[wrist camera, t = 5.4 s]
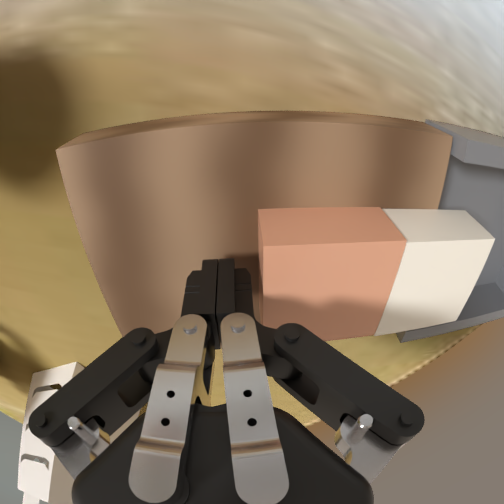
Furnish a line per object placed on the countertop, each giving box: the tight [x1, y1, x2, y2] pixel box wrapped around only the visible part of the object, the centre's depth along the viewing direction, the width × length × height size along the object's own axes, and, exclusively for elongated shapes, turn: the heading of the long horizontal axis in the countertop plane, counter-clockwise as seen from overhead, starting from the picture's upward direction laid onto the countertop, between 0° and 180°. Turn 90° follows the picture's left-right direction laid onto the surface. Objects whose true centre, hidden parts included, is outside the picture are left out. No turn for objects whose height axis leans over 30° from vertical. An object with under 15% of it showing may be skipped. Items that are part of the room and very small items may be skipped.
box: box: [396, 119, 504, 343], centre depth 17 cm, size 14×14×4 cm
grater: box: [18, 362, 140, 504], centre depth 21 cm, size 10×10×20 cm
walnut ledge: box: [56, 111, 453, 348], centre depth 17 cm, size 19×14×3 cm
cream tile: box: [374, 209, 495, 336], centre depth 14 cm, size 6×6×3 cm
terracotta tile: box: [258, 207, 407, 341], centre depth 14 cm, size 6×6×3 cm
